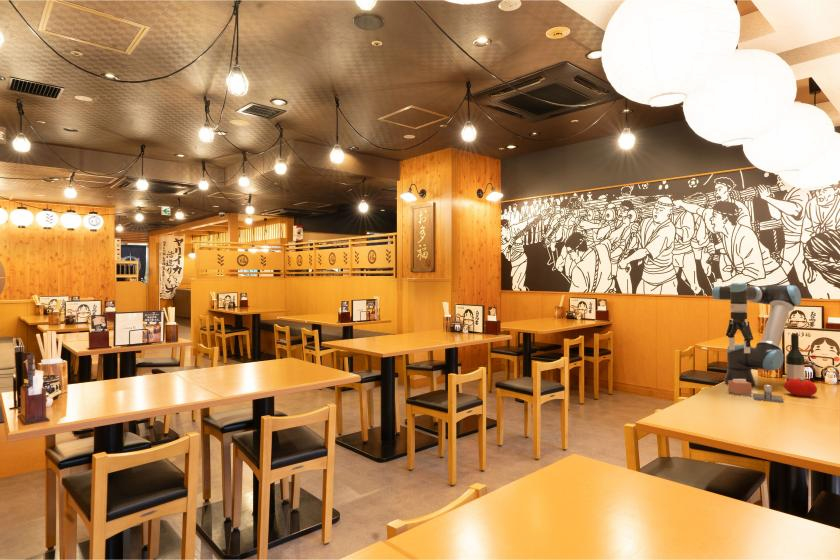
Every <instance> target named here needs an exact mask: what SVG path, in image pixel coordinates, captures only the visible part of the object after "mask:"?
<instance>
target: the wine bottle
mask: <svg viewBox="0 0 840 560" xmlns="http://www.w3.org/2000/svg"><path fill="white" fill-rule="evenodd" d="M790 342H791V343H790V346H791V347H790V351H788V353H787V354H786V356H785V363H786V364H785V373H786V376H785V377H786V381H787V380H789V379H801V380H803V379H804V380H806V379H805V378H806V377H805V357H804V355H803V354H802V351H800V350H799V349H800V347H799V343H800V342H799V334H798V333H797V332H796V333H794V332H792V333H791V334H790Z"/></svg>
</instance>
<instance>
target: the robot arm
mask: <svg viewBox="0 0 840 560" xmlns="http://www.w3.org/2000/svg"><path fill="white" fill-rule="evenodd" d="M711 296H712V298H713V299H714V300H719V301H721V300H724V301H726V300H727V301H729V300H730V319H729V320H728V326H727V330H726V333H725V337H727V338H728V346H727V350H726V354H727V357H726V358H727V361H726V362H727V371H726V374H725V376H724V381H723V382H726V383H725V384H726V385H728V380H733V379H746V382H749V383H751V387H755V386H756V379H755V378H754V376H753V373H752V369H758V370H759V369H760V370H766V371H777V370H779V369H780V368H781V367H782V365H783V364H784V356H785V355H784V353H783V351H782V348H781V347H780V344H781V341H782V337H783V333H784V332H785V330H784V329H785V327H786V323H787V321H788V317H789V314H790V312H792V311H794V308H795V307H797V306H799V305H801V303H802V296H801V290H800V289H799V288H798V286H796V285H795V284H794V285H793V284H792V285H791V284H790V285H789V284H785V285H784V284H781V285H780V284H778V285H777V284H776V285H775V284H770V285H769V284H767V285H758V286H752V285H749V286H748V285H747V283H745V282H735V283H734V282H732V283H731V284H730V286H720V285H719V286H713V288H712V291H711ZM748 302H750V303H756V304H762V305H769V306H770V307H771V308H770V311H769V315H768V317H767V321H766V323H765V327H764V331H763V333H762V337H761V339H760V341H758V342H757V343H756V345H755V347H752V345H751V341H753V340H754V336H753V332H752V329H751V326H750V321H746V320H747V319H748ZM738 330H739V331H740V332H741V334H742V337H743V344H735V343H736V342H735V341H736V340H735V335H736V334H737V331H738Z"/></svg>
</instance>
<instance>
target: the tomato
mask: <svg viewBox="0 0 840 560" xmlns="http://www.w3.org/2000/svg"><path fill="white" fill-rule="evenodd" d="M783 387H784V389H785V391H786V392H788V393H789V394H791V395H794V396H795V397H811V396H813V395H815V394H816V393H817V392H818V391H817V390H818V388H817V385H816V384H815V383H814V382H813V381H812V380H809V379H805V380H804V379H803V380H801V379H789V380H787V379H786V380H785V382H784V385H783Z"/></svg>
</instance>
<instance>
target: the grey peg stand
mask: <svg viewBox="0 0 840 560" xmlns="http://www.w3.org/2000/svg"><path fill="white" fill-rule="evenodd" d="M772 387H773V386H772V385H771V384H763V394H762V393H754V392H753V393H752V394H753V400H754V401H761V400H765V401H764V402H771V401H773V403H781V404H783V403H784V402H785V401H784V399H783V396H782V395H775V394H773V393H772V392H773V388H772Z"/></svg>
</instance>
